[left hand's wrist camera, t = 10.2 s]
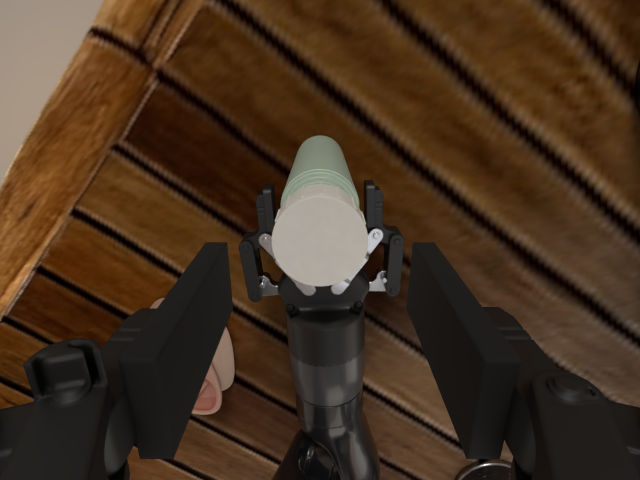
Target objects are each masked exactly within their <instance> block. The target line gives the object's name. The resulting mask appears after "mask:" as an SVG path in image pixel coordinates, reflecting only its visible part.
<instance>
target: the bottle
mask: <svg viewBox="0 0 640 480" xmlns="http://www.w3.org/2000/svg"><path fill="white" fill-rule="evenodd" d="M320 183H322V184H326V185H331V186H335V187H337V188H338V187H339V188H340V189H342V190H343V191H345V192H346V193H348V194H349V195H350V196H351V197H353V198H354V200H355V202H356V203H357V205H358V207H359V199H358V195H357V192H356V190H355V187H354V184H353V181H352V178H351V175H350V173H349V170H348V167H347V164H346V161H345V158H344V156H343V153H342V150H341V148H340V146H339V145H338V144H337V143H336V142H335V141H334V140H333V139H331V138H329V137H326V136H314V137H311V138H309V139H307V140H306V141H305V142H304V143H303V144H302V145H301V146H300V148H299V150H298V153H297V155H296V158H295V161H294V164H293V167H292V170H291V172H290V175H289V178H288V181H287V184H286V187H285V189H284V192H283V195H282V199H281V206H282V205H283V203H284V202H285V200H286V199H287V197H288V196H290V195H291V194H292V193H294V192H295V191H297V190H299V189H300V188H302V187H303V186H304V187H305V186H309V185H314V184H320Z"/></svg>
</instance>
